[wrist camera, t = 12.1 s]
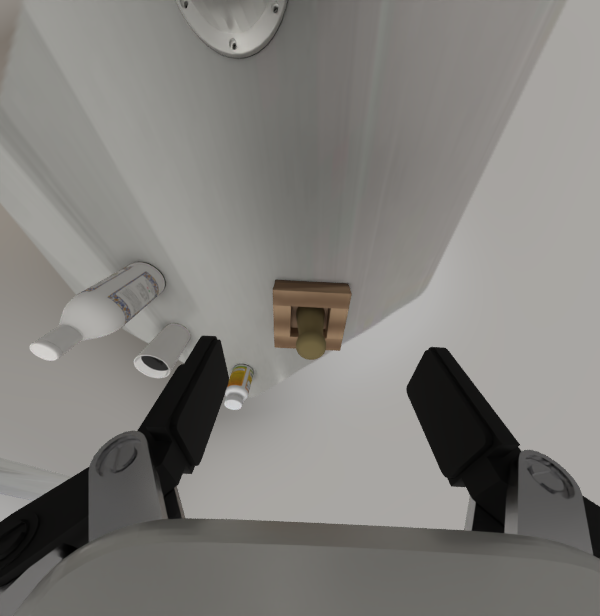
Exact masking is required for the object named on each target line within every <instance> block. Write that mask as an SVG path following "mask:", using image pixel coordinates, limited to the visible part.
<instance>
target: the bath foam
mask: <svg viewBox="0 0 600 616" xmlns="http://www.w3.org/2000/svg"><path fill="white" fill-rule="evenodd" d="M164 287H165V281H164V278H163V276H162V274H161V273H160V272H159V271H158V270H157V269H156V268H155V267H153V266H151V265H149V264H147V263H142V262H136V263H133V264H131V265H129V266H127V267H125V268H123V269H121V270H120V271H118V272H116V273H114V274H113V275H111V276H109V277H107V278H106V279H104V280H102V281H100V282H98V283H97V284H95V285H93V286H91V287H90V288H88V289H86V290H84V291H83V292H81V293H79V294H78V295H76V296H75V297H74V298H72V300H70V301H69V302H68V304H67V305H66V306H65V308H64V310H63V313H62V316H61V319H60V324H59V326H58V327H56V328H55V329H53V330H52V331H50V332H49V333H47V334H45V335H44V336H43V337H41V338H39V339H38V340H36V341H35V342H33V343H32V344H31V345H30V350H31V351H32V352H33V353H34V354H35V355H36V356H38V357H40V358H42V359H45V360H51V361H52V360H57V359H58V358H60V357H61V356H62V355H63V354H65V353H66V352H67V351H69V350H70V349H71V348H73V347H74V346H75V345H76V344H78V343H79V342H80V341H81V340H87V339H94V338H99V337H103V336H106V335H109V334H111V333H113V332H115V331H116V330H118V329H120V328H121V327H123V326H124V325H125V324H126V323H127V322H128V321H130V320H131V319H132V318H133V317H134V316H135V315H136V314H137V313H139V312H140V311H141V310H142V309H143V308H144V307H145V306H147V305H148V304H149V303H150V302H151V301H152V300H153V299H155V298H156V297H157V296H158V295H159V294H160V293H161V292H162V291H163V290H164Z"/></svg>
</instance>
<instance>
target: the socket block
mask: <svg viewBox="0 0 600 616" xmlns="http://www.w3.org/2000/svg"><path fill="white" fill-rule="evenodd" d="M350 299H351V291H350V288H349V285H348V284H346V283H327V282H307V281H287V280H275V284H274V288H273V311H274V343H275V347H278V348H296V341H297V338H298V336H299V332H298V326H297V319H296V310H297V308H298V307H317V308H324V311H325V318H324V328H323V336H324V338H325V341H326V350H338V351H339V350H340V348H341V343H342V338H343V333H344V329H345V324H346V319H347V314H348V309H349V304H350Z"/></svg>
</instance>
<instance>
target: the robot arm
mask: <svg viewBox="0 0 600 616" xmlns="http://www.w3.org/2000/svg"><path fill="white" fill-rule="evenodd" d="M175 1H176V3H177V5H178V7H179V9H180V11H181V13H182V15H183V16H184V18H185V19H186V21H187V23H188V24H189V26H190V27H191V28H192V29H193V31H194V32H195V33H196V34H197V36H198V37H199V38H200V39H201V40H202V41H203V42H204V43H205V44H206V45H207V46H209V47H210V48H212V49H213V50H215V51H216V52H217V53H220V54H222V55H225V56H227V57H233V58H243V57H249V56H251V55H253V54H255V53H257V52H259V51H260V50H261V49H262V48H264V47H265V46H266V45H267V44H268V43H269V41H270V40H271V39H272V37H273V36H274V35H275V33H276V31H277V29H278V27H279V25H280V23H281V21H282V17H283V14H284V11H285V8H286V5H287V0H175ZM186 4H188V7H187V8H186ZM276 8H277V9H278V13H276V14H275V13H274V9H276ZM234 45H236V46H237V48H236V49H235V50H233V46H234ZM228 383H229V376H228V372H227V367H226V363H225V358H224V354H223V349H222V345H221V341H220V340H217V337H216V336H201V338H200V339H199V341H198V342H197V344H196V346H195V347H194V349H193V351H192V352H191V354H190V355H189V357H188V359H187V360H186V362H185V364H182V365H180V366H179V367H178V368H177V369H176V371H175V373H174V374H173V376H172V377H171V379H170V380H169V382H168V384H167V385H166V387H165V388H164V390H163V391H162V393H161V394H160V396H159V398H158V399H157V401H156V402H155V404H154V406H153V407H152V409H151V410H150V412H149V414H148V415H147V417H146V418H145V420H144V421H143V423H142V425H141V426H140V428H139V429H138V431H128V432H124V433H122V434H119V435H117V436H115V437H114V438H112V439H111V440H109V441H108V442H107V443H106V444H104V445H103V446H102V447H101V448H100V449H99V451H98V452H97V453H96V454H95V456H94V458H93V460H92V461H91V464H90V467H88V468H86V469H85V470H83V471H82V472H80V473H79V474H77V475H75V476H73V477H72V478H70V479H68V480H67V481H65V482H63V483H62V484H60V485H59V486H57V487H55V488H54V489H52V490H50V491H49V492H47V493H45V494H44V495H42V496H41V497H39V498H37V499H36V500H34V501H32V502H31V503H29V504H27V505H26V506H24V507H23V508H21V509H19V510H18V511H16V512H14V513H13V514H11V515H10V516H8V517H7V518H5V519H4V520H3V521H1V522H0V616H600V507H599V506H598V505H596V504H595V503H593V502H591V501H590V500H588V499H587V498H585V497H584V496H582V493H581V491H580V488H579V486H578V485H577V483H576V482H575V480H574V479H573V478H572V476H570V474H569V473H568V472H567V471H566V470H565V469H564V468H563V467H561V466H560V465H559V464H558V463H557V462H555V461H554V460H552V459H551V458H549V457H548V456H546V455H544V454H541V453H539V452H536V451H533V450H524V451H522V452H521V450H520V449H519V448H518V446H519V445H520V444H519V443H518V442H517V440H516V439H515V438H514V436H513V435H512V434H511V433H510V431H509V430H508V428H507V427H506V426H505V425H504V423H503V422H502V420H501V419H500V418H499V417H498V415H497V414H496V413H495V412H494V410H493V409H492V407H491V406H490V405H489V403H488V402H487V401H486V400H485V398H484V397H483V395H482V394H481V393H480V392H479V390H478V389H477V388H476V386H475V385H474V384H473V383H472V381H471V380H470V378H469V377H468V376H467V374H466V373H465V372H464V371H463V369H462V368H461V367H460V365H459V364H458V363H457V361H456V360H455V359H454V357H453V356H452V355H451V353H450V352H449V351H448V350H447V349H446V348H439V347H430V348H429V349H428V350H426V351H425V352H424V354H423V356H422V358H421V360H420V362H419V364H418V366H417V368H416V370H415V372H414V374H413V376H412V378H411V380H410V381H409V384H408V385H407V394H408V397H409V399H410V401H411V404H412V406H413V408H414V410H415V413H416V415H417V417H418V420H419V422H420V424H421V426H422V429H423V431H424V433H425V436H426V438H427V440H428V442H429V445H430V447H431V449H432V452H433V454H434V456H435V458H436V461H437V463H438V465H439V468H440V470H441V472H442V473H443V475H444V476H445V477H447V478H448V480H449V483H450V485H451V486H456V487H466V488H467V490H468V492H469V494H470V499H469V505H468V511H467V517H466V523H465V529H464V530H446V529H427V528H407V527H389V526H368V525H347V524H325V523H304V522H280V521H256V520H233V519H186V518H185V516H184V512H183V508H182V504H181V500H180V497H179V493H178V489H177V485H178V484H179V481H180V479H181V476H182V474H183V473H185V474H192V472H193V470H194V467H195V466H197V465H199V463H200V462H201V459H202V457H203V454H204V451H205V448H206V445H207V443H208V440H209V437H210V434H211V431H212V429H213V426H214V423H215V420H216V417H217V414H218V412H219V409H220V406H221V403H222V400H223V397H224V395H225V392H226V389H227V386H228Z"/></svg>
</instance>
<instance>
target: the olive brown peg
mask: <svg viewBox="0 0 600 616" xmlns="http://www.w3.org/2000/svg"><path fill="white" fill-rule="evenodd" d="M324 318H325V311H324V308H317V307H298V308H297V310H296V319H297V326H298V332H299V336H298V338H297V341H296V349H297V352H298V354H299V355H300V356H301V357H303V358H305V359H309V360H314V359H317V358H319V357H321V356H322V355H323V354H324V352H325V350H326V341H325V338H324V336H323V328H324Z"/></svg>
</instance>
